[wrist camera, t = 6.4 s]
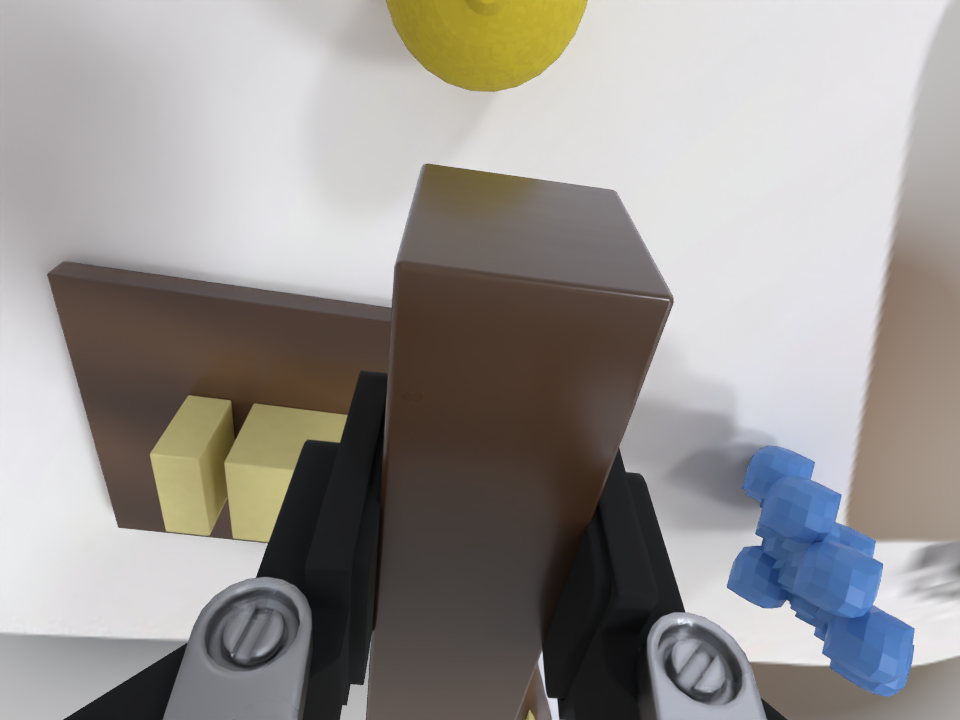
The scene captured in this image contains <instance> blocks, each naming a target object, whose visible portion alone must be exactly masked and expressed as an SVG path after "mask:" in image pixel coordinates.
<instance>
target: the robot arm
mask: <svg viewBox="0 0 960 720" xmlns="http://www.w3.org/2000/svg"><path fill="white" fill-rule="evenodd" d="M387 378H388V373H381V372H373V371H364V370H361V371H360V374H359V377H358V380H357V384H356V388H355V391H354V395H353V398H352V402H351V405H350V409H349V412H348V416H347V419H346V423H345V426H344V430H343V434H342V437H341V441H340V443H338V442H328V441H319V440H309V439H307V440H306V441H305V443H304V445H303V447H302V450H301V452H300V455H299V458H298V461H297V464H296V466H295V469H294V472H293V475H292V478H291V481H290V483H289V486H288V489H287V492H286V495H285V497H284V500H283V503H282V506H281V509H280V512H279V514H278V517H277V520H276V523H275V526H274V528H273V531H272V534H271V537H270V540H269V542H268V545H267V548H266V551H265V554H264V557H263V559H262V562H261V565H260V568H259V571H258V573H257V576H256V578H252V579H246V580H244V581H241V582H238V583H236V584H233V585H230V586H229V587H227V588H226V589H224V590H223V591H221V592H220V593H218V594H217V595H215V596H214V597H213V598H212V599H211V601H210V602H209V603H208V604H207V605H206V606H205V607H204V608H203V609H202V611H201V613H200V615H199V616H198V618H197V620H196V622H195V624H194V626H193V629H192V632H191V635H190V638H189V641H188V643H186V644H185V645H183V646H181V647H180V648H178V649H177V650H175V651H173V652H172V653H170V654H168V655H167V656H165V657H164V658H162V659H160V660H159V661H157V662H156V663H154V664H152V665H151V666H149V667H148V668H146V669H144V670H143V671H141V672H139V673H138V674H136V675H135V676H133V677H131V678H130V679H128V680H127V681H125V682H123V683H122V684H120V685H119V686H117V687H115V688H114V689H112V690H110V691H109V692H107V693H106V694H104V695H102V696H101V697H99V698H98V699H96V700H94V701H93V702H91V703H89V704H88V705H86V706H85V707H83V708H81V709H80V710H78V711H77V712H75V713H73V714H72V715H70V716H69V717H67V718H65V719H64V720H340V715H341V709H342V705H347V701H348V695H349V690H350V684H357V685H363V684H364V679H365V673H366V667H367V660H368V654H369V648H370V642H371V636H372V628H373V612H374V597H375V581H376V566H377V550H378V535H379V519H380V489H381V473H382V457H383V441H384V425H385V410H386V394H387ZM542 654H543V665H544V677H545V688H546V693H547V696H548V698H555V699H557V702H558V712H559V720H787V719H786V718H784V717H783V716H782V715H781V714H780V713H779V712H777V711H776V710H775V709H774V708H772V707H771V706H770V705H769V704H768V703H767V702H765V701H764V700H763V699H762V698H761V697H760V695H759V691H758V688H757V685H756V681H755V678H754V674H753V671H752V668H751V666H750V664H749V661H748V659H747V657H746V655H745V653H744V651H743V650H742V649H741V647H740V646H739V645H738V643H737V642H736V641H735V639H734V638H733V637H732V636H730V635H729V634H728V633H727V632H726V631H725V630H724V629H723V628H721V627H720V626H719V625H717V624H715V623H714V622H712V621H710V620H708V619H707V618H705V617H702V616H698V615H695V614H692V613H685V609H684V606H683V603H682V600H681V596H680V593H679V590H678V586H677V583H676V580H675V577H674V573H673V570H672V567H671V563H670V560H669V557H668V554H667V550H666V547H665V544H664V540H663V537H662V534H661V531H660V527H659V524H658V521H657V517H656V514H655V511H654V507H653V504H652V501H651V498H650V494H649V491H648V488H647V484H646V482H645V480H644V478H643V476H642V475H641V474H639V473H629V472H625V468H624V464H623V460H622V457H621V453H620V449H618V451H617V454H616V457H615V459H614V462H613V464H612V467H611V470H610V472H609V475H608V478H607V480H606V483H605V486H604V488H603V491H602V494H601V496H600V499H599V502H598V504H597V507H596V510H595V512H594V515H593V517H592V520H591V523H590V525H589V527H586V529H585V532H584V535H583V537H582V540H581V543H580V545H579V548H578V551H577V554H576V556H575V559H574V562H573V564H572V567H571V570H570V572H569V575H568V578H567V580H566V583H565V586H564V588H563V591H562V594H561V596H560V599H559V602H558V604H557V607H556V610H555V612H554V615H553V618H552V620H551V623H550V626H549V628H548V631H547V634H546V636H545V639H544V642H543V644H542Z"/></svg>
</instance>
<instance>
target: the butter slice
mask: <svg viewBox="0 0 960 720" xmlns="http://www.w3.org/2000/svg"><path fill="white" fill-rule="evenodd" d="M234 442H235V435H234V425H233V415H232V404H231V401H230V400H224V399H216V398H208V397H200V396H192V395H189V396H188V397H187V398H186V400H185V401H184V403H183V404H182V406H181V407H180V409H179V410H178V412H177V413H176V415H175V416H174V418H173V419H172V421H171V422H170V424H169V425H168V427H167V429H166V430H165V432H164V433H163V435H162V436H161V438H160V439H159V441H158V442H157V444H156V445H155V447H154V448H153V450H152V451H151V453H150V458H151V463H152V467H153V472H154V477H155V482H156V486H157V491H158V496H159V500H160V505H161V510H162V515H163V519H164V524H165V529H166V531H167V532H176V533H186V534H195V535H205V536H209V535H210V534H211V532H212V530H213V527H214V525H215V523H216V521H217V519H218V517H219V515H220V512H221V510H222V508H223V506H224V504H225V502H226V499H227V497H228V492H227V484H226V475H225V466H224V462H225V460H226V458H227V456H228V454H229V452H230V450H231V448H232V446H233V444H234Z"/></svg>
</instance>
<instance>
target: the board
mask: <svg viewBox="0 0 960 720" xmlns="http://www.w3.org/2000/svg"><path fill="white" fill-rule="evenodd" d="M47 276H48V279H49V283H50V286H51V290H52V293H53V297H54V300H55V304H56V308H57V311H58V315H59V318H60V322H61V325H62V329H63V333H64V336H65V340H66V343H67V347H68V350H69V354H70V357H71V361H72V365H73V368H74V372H75V375H76V379H77V382H78V386H79V389H80V393H81V397H82V400H83V404H84V407H85V411H86V414H87V418H88V421H89V425H90V429H91V432H92V436H93V439H94V443H95V446H96V450H97V453H98V457H99V461H100V464H101V468H102V471H103V475H104V478H105V482H106V486H107V489H108V493H109V496H110V500H111V503H112V507H113V510H114V514H115V518H116V521H117V525H118V527H119V528H127V529H136V530H146V531H156V532H165V533H175V534H184V535H194V536H204V537H213V538H223V539H232V540H242V541H252V540H243V539H234V538H233V536H232V527H231V518H230V510H229V501H228V497H227V499H226V502H225V504H224V506H223V508H222V510H221V512H220V515H219V517H218V519H217V521H216V523H215V525H214V527H213V530H212V532H211V534H210V535H209V536H205V535H195V534H186V533H176V532H167V531H166V529H165V524H164V519H163V515H162V510H161V505H160V500H159V496H158V491H157V486H156V482H155V477H154V472H153V467H152V463H151V458H150V453H151V451H152V450H153V448H154V447H155V445H156V444H157V442H158V441H159V439H160V438H161V436H162V435H163V433H164V432H165V430H166V429H167V427H168V425H169V424H170V422H171V421H172V419H173V418H174V416H175V415H176V413H177V412H178V410H179V409H180V407H181V406H182V404H183V403H184V401H185V400H186V398H187V397H188V396H189V395H192V396H200V397H208V398H216V399H224V400H230V401H231V404H232V415H233V425H234V435H235V440H236V438H237V436H238V434H239V432H240V430H241V428H242V426H243V424H244V422H245V420H246V418H247V416H248V414H249V412H250V410H251V408H252V406H253V404H255V403H257V404H265V405H273V406H281V407H289V408H296V409H304V410H312V411H320V412H328V413H336V414H344V415H348V412H349V409H350V405H351V402H352V398H353V395H354V391H355V388H356V384H357V380H358V377H359V374H360V371H361V370H364V371H373V372H381V373H388V362H389V346H390V330H391V314H392V308H386V307H379V306H372V305H365V304H358V303H351V302H344V301H337V300H330V299H323V298H316V297H309V296H302V295H295V294H288V293H281V292H274V291H267V290H260V289H253V288H246V287H239V286H232V285H225V284H218V283H211V282H204V281H197V280H190V279H183V278H176V277H169V276H162V275H155V274H148V273H141V272H134V271H127V270H120V269H113V268H106V267H99V266H91V265H84V264H77V263H70V262H62V263H61V264H59V265H58V266H57V267H55V268H54V269H53V270H51V271H50V272H49V273H48V274H47ZM252 542H261V543H268V542H262V541H252Z"/></svg>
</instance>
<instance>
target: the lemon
mask: <svg viewBox="0 0 960 720" xmlns="http://www.w3.org/2000/svg"><path fill="white" fill-rule="evenodd" d="M386 2H387V5H388V8H389V11H390V15H391V18H392V21H393V24H394V26H395V28H396V30H397V32H398V33H399V35H400V37H401V39H402V40H403V42H404V44H405V46H406V47H407V49H408V50H409V51H410V53H411V54H412V55H413V56H414V57H415V58H416V59H417V60H418V61H419V62H420V63H421V64H422V65H423V67H424V68H425V69H426V70H428V71H430V72H431V73H433V74H434V75H436V76H437V77H439V78H440V79H442V80H443V81H445V82H447V83H449V84H452V85H455V86H458V87H461V88H464V89H467V90H470V91H489V92H495V91H499V90H504V89H508V88H513V87H517V86H519V85H521V84H523V83H525V82H527V81H529V80H531V79H532V78H534V77H536V76H538V75H540V74H541V73H542V72H543V71H544V70H545V69H547V68H548V67H549V66H550V65H551V64H552V63H553V62H554V61H556V60H557V59H558V58H559V57H560V55H561V54H562V52H563V51H564V50H565V48H566V47H567V45H568V44H569V42H570V41H571V39H572V38H573V37H574V35H575V33H576V31H577V28H578V26H579V23H580V21H581V19H582V16H583V14H584V11H585V9H586V5H587V0H386Z"/></svg>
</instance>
